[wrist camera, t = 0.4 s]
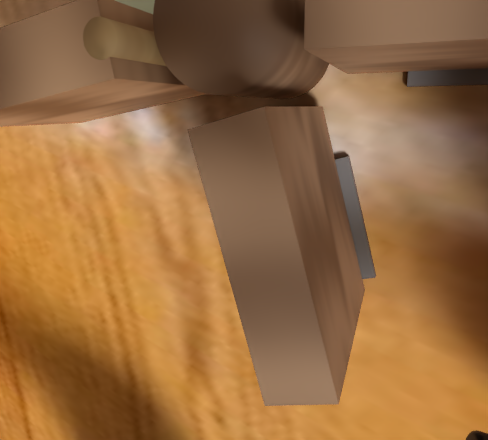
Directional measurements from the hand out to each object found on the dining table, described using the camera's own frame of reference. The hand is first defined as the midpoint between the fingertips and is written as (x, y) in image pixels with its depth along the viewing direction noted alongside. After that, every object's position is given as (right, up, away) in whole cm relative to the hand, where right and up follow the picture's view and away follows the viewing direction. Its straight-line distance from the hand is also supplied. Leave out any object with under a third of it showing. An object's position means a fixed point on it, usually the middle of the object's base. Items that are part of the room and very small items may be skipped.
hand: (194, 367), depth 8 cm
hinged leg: (-4, +10, +15) cm, 18 cm away
